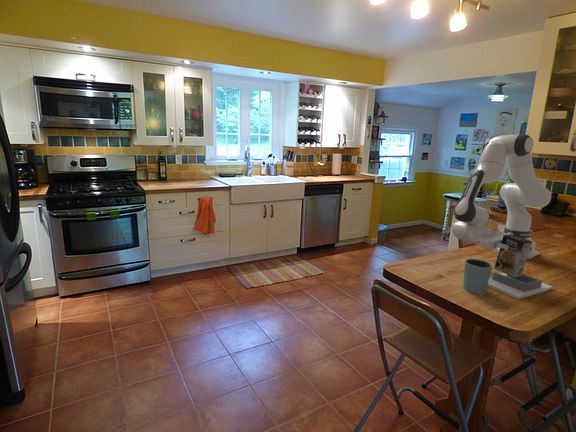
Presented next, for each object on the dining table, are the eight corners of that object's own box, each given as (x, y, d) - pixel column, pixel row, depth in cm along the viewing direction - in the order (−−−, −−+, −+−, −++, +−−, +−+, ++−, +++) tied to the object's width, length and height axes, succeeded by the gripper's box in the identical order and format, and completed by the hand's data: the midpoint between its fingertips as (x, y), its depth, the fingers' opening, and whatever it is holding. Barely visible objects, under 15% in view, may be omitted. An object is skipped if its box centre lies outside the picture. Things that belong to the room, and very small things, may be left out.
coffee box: (493, 268, 154) (502, 234, 150) (502, 267, 157) (511, 233, 153) (513, 277, 146) (523, 241, 142) (522, 275, 149) (533, 240, 145)
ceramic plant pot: (476, 296, 138) (481, 268, 135) (455, 286, 147) (459, 259, 144) (493, 292, 142) (498, 265, 139) (471, 283, 151) (476, 257, 148)
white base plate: (509, 273, 163) (511, 265, 162) (551, 289, 148) (553, 280, 147) (476, 281, 153) (478, 272, 152) (518, 299, 137) (520, 289, 136)
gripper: (470, 233, 155) (500, 242, 143) (499, 229, 164) (529, 237, 152) (468, 246, 157) (497, 256, 145) (497, 241, 166) (526, 250, 154)
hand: (514, 246), depth 149 cm, fingers closed on coffee box, 6 cm apart
